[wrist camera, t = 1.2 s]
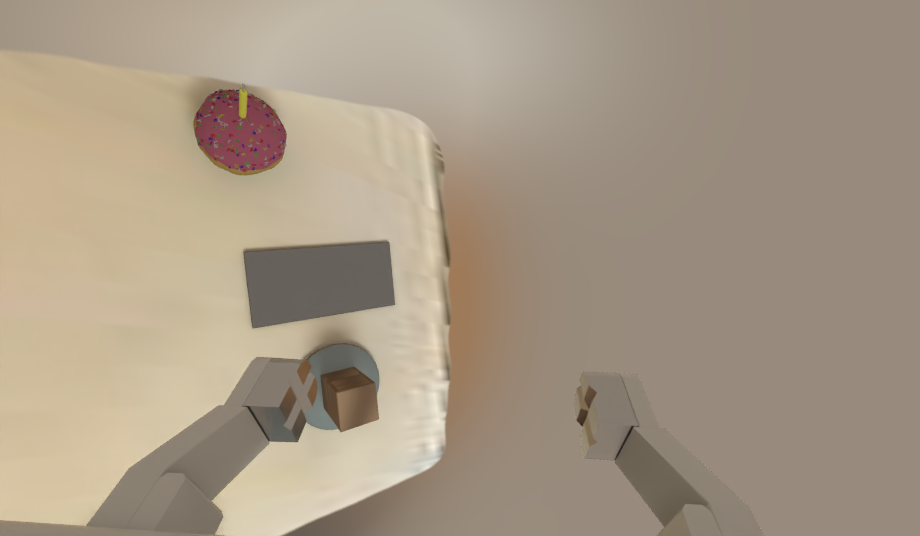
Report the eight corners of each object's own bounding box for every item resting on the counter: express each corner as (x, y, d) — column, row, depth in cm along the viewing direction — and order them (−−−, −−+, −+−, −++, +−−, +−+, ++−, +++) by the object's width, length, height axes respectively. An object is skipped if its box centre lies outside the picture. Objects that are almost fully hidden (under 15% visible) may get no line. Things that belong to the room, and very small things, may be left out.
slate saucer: (297, 439, 47) (302, 449, 44) (288, 354, 46) (292, 359, 43) (380, 411, 53) (388, 419, 50) (372, 336, 52) (381, 340, 49)
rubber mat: (252, 327, 44) (252, 328, 43) (243, 252, 43) (243, 252, 43) (393, 304, 54) (394, 304, 53) (387, 242, 53) (389, 242, 53)
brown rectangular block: (323, 408, 47) (340, 432, 41) (320, 375, 47) (336, 393, 40) (357, 398, 50) (378, 419, 43) (354, 366, 50) (375, 382, 43)
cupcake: (189, 104, 40) (178, 51, 30) (274, 109, 45) (290, 65, 35) (204, 183, 41) (199, 157, 31) (286, 180, 46) (305, 157, 36)
